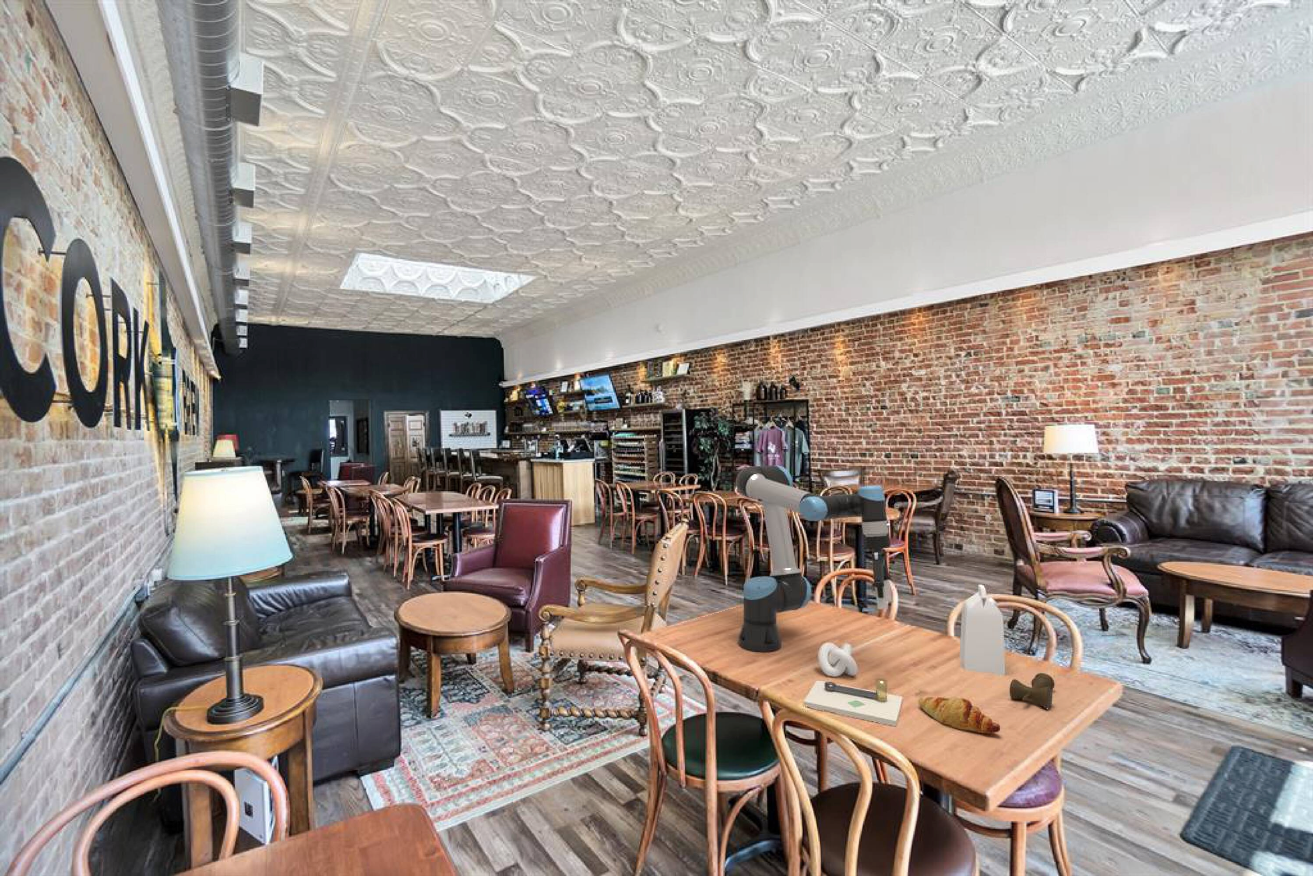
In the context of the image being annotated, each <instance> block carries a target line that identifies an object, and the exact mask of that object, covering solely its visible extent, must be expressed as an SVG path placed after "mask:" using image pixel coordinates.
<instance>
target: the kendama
mask: <svg viewBox="0 0 1313 876" xmlns="http://www.w3.org/2000/svg"><path fill="white" fill-rule="evenodd" d="M1055 685H1056V684H1055V681H1054V678H1053V677H1052V676H1050V674H1048V673H1044V672H1038V673H1036V675H1034V677H1033V678H1032V679H1031V687H1030V686H1028V685H1025V684H1023V682H1021V681H1019V680H1018V679H1015V678H1014V679H1012V680H1011V681H1010V685H1009V696H1010V699H1012V700H1013V699H1015V700H1021V699H1022V701H1026V700H1030V701H1034V702H1035V703H1037V704H1039V706H1041V707H1042V708H1044V709H1045V708H1046V709H1045V710H1047V708H1049V707H1050V706H1051V707H1052V702H1053V689H1055ZM1051 707H1050V708H1051Z"/></svg>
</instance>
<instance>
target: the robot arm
mask: <svg viewBox="0 0 1313 876" xmlns="http://www.w3.org/2000/svg"><path fill="white" fill-rule="evenodd" d="M735 486H736V489H737V491H738V493H739V494H741V496H744V497H746V498H749V499H750V500H755V501H757V503H758V504H759V505H761V506H762V510H763V516H764V521H765V527H766V533H767V535H766V536H767V540H768V546H769V550H770V551H769V552H770V559H771V565H772V571H771V573H769V576H765V575H764V576H755V577H751V578H749V579H747V580H746V581H745V582H744V585H743V591H742V596H743V623H742V626H741V629H740V632H739V635H738V646H740V647H741V649H744V650H747V651H751V652H759V653H770V652H775V651H778V650H780V649H781V648H782V638H781V637H782V636H781V635H780V631H779V628H778V625H777V614H778V613H785V612H789V611H797V610H799V609H802V608H804V607H807V606H808V604H809V602H810V600H811V596H812V587H811V583H810V582H809V581H808V579H807V578H806V577H804V576H803V575H802V574H803V573H802V570H800V569H799V568H798V567H797V564H796V557H795V552H794V545H793V540H792V535H791V534H792V533H791V527H790V521H789V518H788V517H789V516H788V511H792V512H795V513H798V514H800V515H801V516H802V517H803V520H806V521H811V522H819V521H827V520H835V519H837V520H838V519H847V518H858V517H859V518H861V527H862V534H863V535H864V538H863V540H864V547H865V549H868V550H872V553H871V560H872V572H873V573H872V574H873V583H871V585H872V586H871V587H873V588H875V589H874V590H875V597H876V604H877V606H876V607H877V610H888V602H889V603H890V602H893V598H892V592H891V583H890V581H891V580H892V576H891V575H890V572H889V567H888V562H887V553H886V549H887V548H888V549H889V548H890V547H891V540H890V539H891V538H890V537H891V536H890V535H888V534H889V533H890V532H889V527H891V524H890V523H888V518H887V517H888V516H887V508H886V498H885V493H884V489H883V487H882V486H881V485H878V484H877V485H864V486H859V487H858V489H857V491H858V493H848V494H843V493H842V494H833V495H832V494H831V495H819V494H816V493H812V492H809V491H806V490H803V489H800V488H796V487H793V486H794V484H793V477H792V475H791V473H790V472H789V470H788V469H786V468H785V467H783V466H782V465H774V464H772V465H758V466H757V465H755V466H753V465H751V466H747V467H744V468H743V469H741V470H740V471H739V472H738V474H737V476H736V479H735Z"/></svg>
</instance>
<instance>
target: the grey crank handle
mask: <svg viewBox="0 0 1313 876" xmlns="http://www.w3.org/2000/svg"><path fill="white" fill-rule="evenodd" d="M824 682H825V689H826V690H830V691H834V690H836V691H841V692H846V693H851V694H856V695H861V696H866V697H871V698H876V699H878V700H881V701H886V700H887V694H888V680H887V679H886V678H879V677H878V678H875V692H871V691H872V690H870V691H865V690H866V689H864V690H860V689H861V688H859V689H855V688H856V687H854V688H850V687H851V686H849V687H845V686H846V685H844V686H840V685H841V684H839V685H836V684H837V683H835V682H832V681H824Z"/></svg>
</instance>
